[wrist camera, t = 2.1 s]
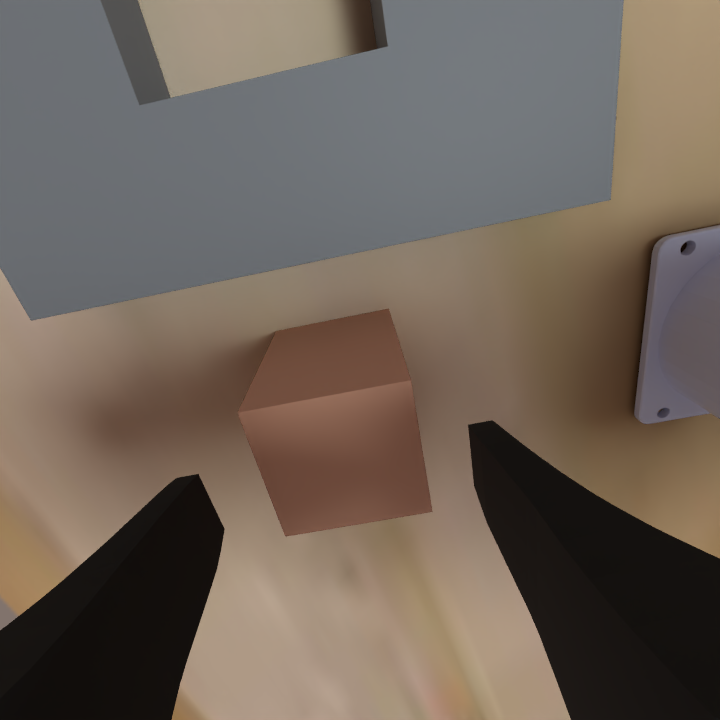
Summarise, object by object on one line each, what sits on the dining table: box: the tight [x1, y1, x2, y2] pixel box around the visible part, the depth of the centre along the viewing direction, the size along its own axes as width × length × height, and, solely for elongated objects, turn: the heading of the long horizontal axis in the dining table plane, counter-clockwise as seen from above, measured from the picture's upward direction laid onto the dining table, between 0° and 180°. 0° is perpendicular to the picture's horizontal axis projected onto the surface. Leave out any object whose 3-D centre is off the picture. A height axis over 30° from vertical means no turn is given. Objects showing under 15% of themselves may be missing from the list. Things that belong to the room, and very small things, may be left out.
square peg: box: [237, 309, 432, 536], centre depth 14 cm, size 4×4×6 cm
